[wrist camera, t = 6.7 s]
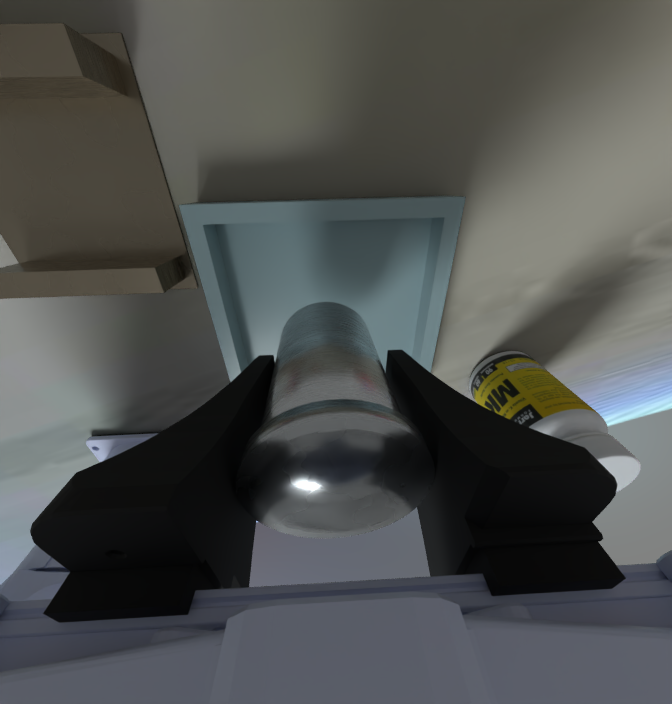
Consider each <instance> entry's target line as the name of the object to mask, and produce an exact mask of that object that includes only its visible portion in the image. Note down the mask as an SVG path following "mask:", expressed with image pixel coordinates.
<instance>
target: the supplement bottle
mask: <svg viewBox="0 0 672 704" xmlns="http://www.w3.org/2000/svg"><path fill="white" fill-rule="evenodd" d="M469 389H470V392H471V394H472V396H473V397H474V399H475V400H476V401H477V403H478V404H479V405H481V406H483V407H485V408H487V409H489V410H491V411H493V412H495V413H497V414H499V415H501V416H503V417H505V418H508V419H510V420H512V421H514V422H517V423H519V424H522V425H524V426H526V427H529V428H531V429H534V430H536V431H539V432H542V433H544V434H547V435H550V436H553V437H556V438H559V439H562V440H564V441H567V442H570V443H573V444H576V445H579V446H582V447H585V448H586V449H587V450H588V451H589V452H590V453H591V454H592V455H593V456H594V457H595V458H596V459H597V460H598V461H599V462H600V463H601V464H602V465H603V466H604V467H605V468H606V469H607V470H608V471H609V472H610V473H611V474H612V475H613V476H614V477H615V479H616V482H617V490H616V492H618V491H620V490H621V489H623V488H624V487H626V486H627V485H629V484H630V483H631V482H632V481H633V480H634V479H635V478H636V477H637V476H638V474H639V472H640V469H641V464H640V462H639V460H638V459H637V458H636V457H635V456H634V455H633V454H632V453H630V451H628V450H627V449H626V448H625V447H624V446H623V445H622V444H620V443H619V442H618V441H617V440H616V439H615V438H614V437H613V436H611V435H609V434H608V427H607V424H606V422H605V421H604V419H603V418H602V417H601V416H600V415H599V414H598V413H597V412H596V411H595V410H594V409H592V408H591V407H590V406H589V405H587V404H586V403H585V402H584V401H583V400H581V399H580V398H579V397H578V396H577V395H576V394H574V393H573V392H572V391H571V390H569V389H568V388H567V387H566V386H565V385H563V384H562V383H561V382H560V381H559V380H558V379H556V378H555V377H554V376H553V375H552V374H550V373H549V372H548V371H547V370H546V369H544V368H543V367H542V366H541V365H540V364H538V363H537V362H536V361H535V360H534V359H532V358H531V357H530V356H528V355H527V354H525V353H522V352H518V351H506V352H501V353H498V354H495V355H492V356H490V357H488V358H487V359H485V360H484V361H482V362H481V363H480V364H479V365H478V366H477V367H476V368H475V369H474V371H473V373H472V375H471V377H470V381H469Z"/></svg>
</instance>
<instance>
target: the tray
mask: <svg viewBox="0 0 672 704" xmlns="http://www.w3.org/2000/svg"><path fill="white" fill-rule="evenodd" d="M465 198H466V197H462V196H413V197H378V198H342V199H307V200H272V201H236V202H201V203H190V204H182V205H179V208H180V211H181V215H182V218H183V221H184V225H185V228H186V232H187V235H188V239H189V242H190V245H191V249H192V252H193V256H194V259H195V263H196V266H197V269H198V273H199V276H200V280H201V283H202V287H203V290H204V293H205V297H206V300H207V304H208V307H209V310H210V314H211V317H212V321H213V324H214V328H215V331H216V334H217V338H218V341H219V345H220V348H221V352H222V355H223V358H224V362H225V365H226V369H227V372H228V376H229V379H230V382H232V381H233V380H234V379H235V378H236V377H237V376H238V375H239V374H240V373H241V372H242V371H243V370H244V369H245V368H246V367H247V366H248V365H249V364H250V363H251V362H252V361H253V360H254V359H256V358H257V357H258V356H259V355H274V361H276V356H277V352H278V347H279V342H280V338H281V333H282V330H283V328H284V326H285V324H286V322H287V321H288V319H289V318H290V317H291V316H292V315H293V314H294V313H295V312H296V311H298V310H299V309H301V308H303V307H305V306H307V305H310V304H313V303H318V302H335V303H340V304H342V305H345V306H347V307H349V308H351V309H353V310H354V311H356V312H357V313H358V314H359V315H360V316H361V317H362V319H363V320H364V321H365V323H366V325H367V327H368V330H369V332H370V335H371V337H372V340H373V343H374V345H375V348H376V350H377V353H378V355H379V358H380V360H381V363H382V366H383V368H384V371H385V373H386V362H387V351H388V350H403V351H404V352H406V353H407V354H408V355H409V356H411V357H412V358H413V359H414V360H415V361H417V362H418V363H419V364H420V365H421V366H423V367H424V368H425V369H426V370H428V371H429V372H431V367H432V363H433V358H434V353H435V348H436V343H437V338H438V333H439V328H440V323H441V318H442V313H443V308H444V303H445V298H446V293H447V288H448V283H449V278H450V273H451V268H452V263H453V258H454V253H455V248H456V243H457V238H458V233H459V228H460V223H461V218H462V213H463V208H464V203H465Z"/></svg>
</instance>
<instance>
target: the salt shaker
mask: <svg viewBox="0 0 672 704" xmlns="http://www.w3.org/2000/svg"><path fill="white" fill-rule="evenodd" d="M434 477H435V467H434V462H433V459H432V457H431V454H430V452H429V450H428V447H427V445H426V443H425V441H424V438H423V436H422V434H421V433H420V431H419V430H418V428H417V427H416V426H415V425H414V424H413V423H412V422H411V421H410V420H409V419H408V418H406V417H405V416H404V415H402V414H401V412H400V409H399V406H398V404H397V401H396V399H395V396H394V394H393V391H392V389H391V386H390V383H389V381H388V378H387V376H386V373H385V371H384V368H383V366H382V363H381V360H380V358H379V355H378V353H377V350H376V348H375V345H374V343H373V340H372V337H371V335H370V332H369V330H368V327H367V325H366V323H365V321H364V320H363V319H362V317H361V316H360V315H359V314H358V313H357V312H356V311H354V310H353V309H351V308H349V307H347V306H345V305H342V304H340V303H335V302H318V303H313V304H310V305H307V306H305V307H303V308H301V309H299V310H298V311H296V312H295V313H294V314H293V315H292V316H291V317H290V318H289V319H288V321H287V322H286V324H285V326H284V328H283V330H282V333H281V338H280V342H279V347H278V352H277V356H276V361H275V365H274V370H273V374H272V379H271V384H270V388H269V393H268V397H267V402H266V406H265V411H264V415H263V420H262V425H261V427H260V428H259V429H258V430H257V431H256V432H255V433H254V434H253V436H252V437H251V438H250V439H249V441H248V443H247V445H246V447H245V449H244V452H243V455H242V459H241V463H240V466H239V470H238V474H237V478H236V492H237V496H238V499H239V501H240V503H241V505H242V506H243V508H244V509H245V510H246V511H247V512H248V513H249V515H251V516H252V517H253V518H254V519H256V520H257V521H258V522H260V523H262V524H264V525H265V526H267V527H269V528H272V529H274V530H277V531H280V532H282V533H286V534H290V535H295V536H300V537H308V538H340V537H348V536H354V535H359V534H363V533H367V532H370V531H374V530H377V529H380V528H382V527H385V526H387V525H389V524H392V523H394V522H396V521H398V520H399V519H401V518H403V517H404V516H406V515H407V514H409V513H410V512H411V511H413V510H414V509H415V508H416V507H417V506H418V505H419V504H420V503H421V502H422V501H423V500H424V499H425V497H426V496H427V494H428V493H429V491H430V489H431V487H432V485H433V481H434Z"/></svg>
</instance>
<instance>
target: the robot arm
mask: <svg viewBox="0 0 672 704" xmlns="http://www.w3.org/2000/svg"><path fill="white" fill-rule="evenodd" d="M274 365H275V361H274V355H259V356H258V357H257V358H256V359H254V360H253V361H252V362H251V363H250V364H249V365H248V366H247V367H246V368H245V369H244V370H243V371H242V372H241V373H240V374H239V375H238V376H237V377H236V378H235V379H234V380H233V381H232V382H231V383H229V384H228V385H227V386H226V387H225V388H224V389H222V390H221V391H220V392H219V393H218V394H216V395H215V396H214V397H213V398H212V399H210V400H209V401H208V402H206V403H205V404H204V405H202V406H201V407H200V408H198V409H197V410H195V411H194V412H193V413H191V414H190V415H188V416H187V417H185V418H183V419H182V420H180V421H179V422H177V423H175V424H174V425H172V426H170V427H169V428H167V429H165V430H164V431H162V432H160V433H155V434H134V435H113V436H93V437H90V438H88V439H87V441H86V444H87V446H88V447H89V448H90V450H91V451H92V452H93V454H94V455H95V456H96V458H97V459H98V460H99V461H100V463H98V464H95V465H93V466H91V467H89V468H87V469H84V470H82V471H79V472H77V473H76V474H75V475H74V476H73V477H72V478H71V479H70V481H69V482H68V483H67V484H66V485H65V486H64V487H63V489H62V490H61V491H60V492H59V493H58V494H57V496H56V497H55V498H54V499H53V500H52V501H51V503H50V504H49V505H48V506H47V507H46V508H45V510H44V511H43V512H42V513H41V514H40V515H39V516H38V518H37V519H36V520H35V521H34V522H33V523H32V526H31V530H30V532H31V536H32V539H33V541H34V543H35V544H36V545H35V546H34V548H33V549H32V550H31V551H30V553H29V554H28V555H27V556H26V558H25V559H24V560H23V561H22V562H21V564H20V565H19V566H18V567H17V569H16V570H15V571H14V572H13V574H12V575H11V576H10V577H9V578H8V579H6V580H5V581H4V582H3V583H2V584H1V585H0V704H672V550H671V551H669V552H667V553H665V554H664V555H662V556H661V557H660V558H659V559H658V560H657V562H656V563H651V564H635V565H617V566H616V565H615V563H614V562H613V561H612V559H611V558H610V557H609V555H608V554H607V553H606V552H605V550H604V549H603V548H602V546H601V545H600V544H599V542H598V541H601V540H602V539H603V536H602V534H601V533H600V532H599V530H598V529H597V528H596V526H595V525H594V524H593V523H592V521H593V520H594V519H595V518H596V517H597V516H598V515H599V514H600V513H601V512H602V511H603V510H604V509H605V507H606V506H607V505H608V504H609V503H610V502H611V500H612V499H613V498H614V496H615V494H616V490H617V482H616V479H615V477H614V476H613V475H612V474H611V473H610V472H609V471H608V470H607V469H606V468H605V467H604V466H603V465H602V464H601V463H600V462H599V461H598V460H597V459H596V458H595V457H594V456H593V455H592V454H591V453H590V452H589V451H588V450H587V449H586V448H585V447H582V446H579V445H576V444H573V443H570V442H567V441H564V440H562V439H559V438H556V437H553V436H550V435H547V434H544V433H542V432H539V431H536V430H534V429H531V428H529V427H526V426H524V425H522V424H519V423H517V422H514V421H512V420H510V419H508V418H505V417H503V416H501V415H499V414H497V413H495V412H493V411H491V410H489V409H487V408H485V407H483V406H481V405H479V404H477V403H476V402H474V401H472V400H470V399H469V398H467V397H465V396H464V395H462V394H460V393H459V392H457V391H455V390H454V389H452V388H451V387H449V386H448V385H447V384H445V383H444V382H442V381H441V380H439V379H438V378H437V377H435V376H434V375H433V374H431V373H430V372H429V371H428V370H426V369H425V368H424V367H423V366H421V365H420V364H419V363H418V362H417V361H415V360H414V359H413V358H412V357H411V356H409V355H408V354H407V353H406V352H404V351H403V350H388V351H387V362H386V376H387V378H388V381H389V383H390V386H391V389H392V391H393V394H394V396H395V399H396V401H397V404H398V406H399V409H400V412H401V414H402V415H404V416H405V417H406V418H408V419H409V420H410V421H411V422H412V423H413V424H414V425H415V426H416V427H417V428H418V430H419V431H420V433H421V434H422V436H423V438H424V441H425V443H426V445H427V447H428V450H429V452H430V454H431V457H432V459H433V462H434V467H435V477H434V481H433V485H432V487H431V489H430V491H429V493H428V494H427V496H426V497H425V499H424V500H423V501H422V502H421V503H420V504H419V505H418V506H417V509H418V514H419V519H420V524H421V529H422V534H423V538H424V544H425V549H426V554H427V560H428V565H429V571H430V576H431V577H415V578H399V579H382V580H366V581H349V582H331V583H314V584H297V585H281V586H264V587H249V581H250V571H251V561H252V550H253V542H254V534H255V525H256V519H254V518H253V517H252V516H251V515H249V513H248V512H247V511H246V510H245V509H244V508H243V506H242V505H241V503H240V501H239V499H238V496H237V492H236V478H237V474H238V470H239V466H240V463H241V459H242V455H243V452H244V449H245V447H246V445H247V443H248V441H249V439H250V438H251V437H252V436H253V434H254V433H255V432H256V431H257V430H258V429H259V428H260V427H261V425H262V420H263V415H264V411H265V406H266V402H267V397H268V393H269V388H270V384H271V379H272V374H273V370H274Z"/></svg>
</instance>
